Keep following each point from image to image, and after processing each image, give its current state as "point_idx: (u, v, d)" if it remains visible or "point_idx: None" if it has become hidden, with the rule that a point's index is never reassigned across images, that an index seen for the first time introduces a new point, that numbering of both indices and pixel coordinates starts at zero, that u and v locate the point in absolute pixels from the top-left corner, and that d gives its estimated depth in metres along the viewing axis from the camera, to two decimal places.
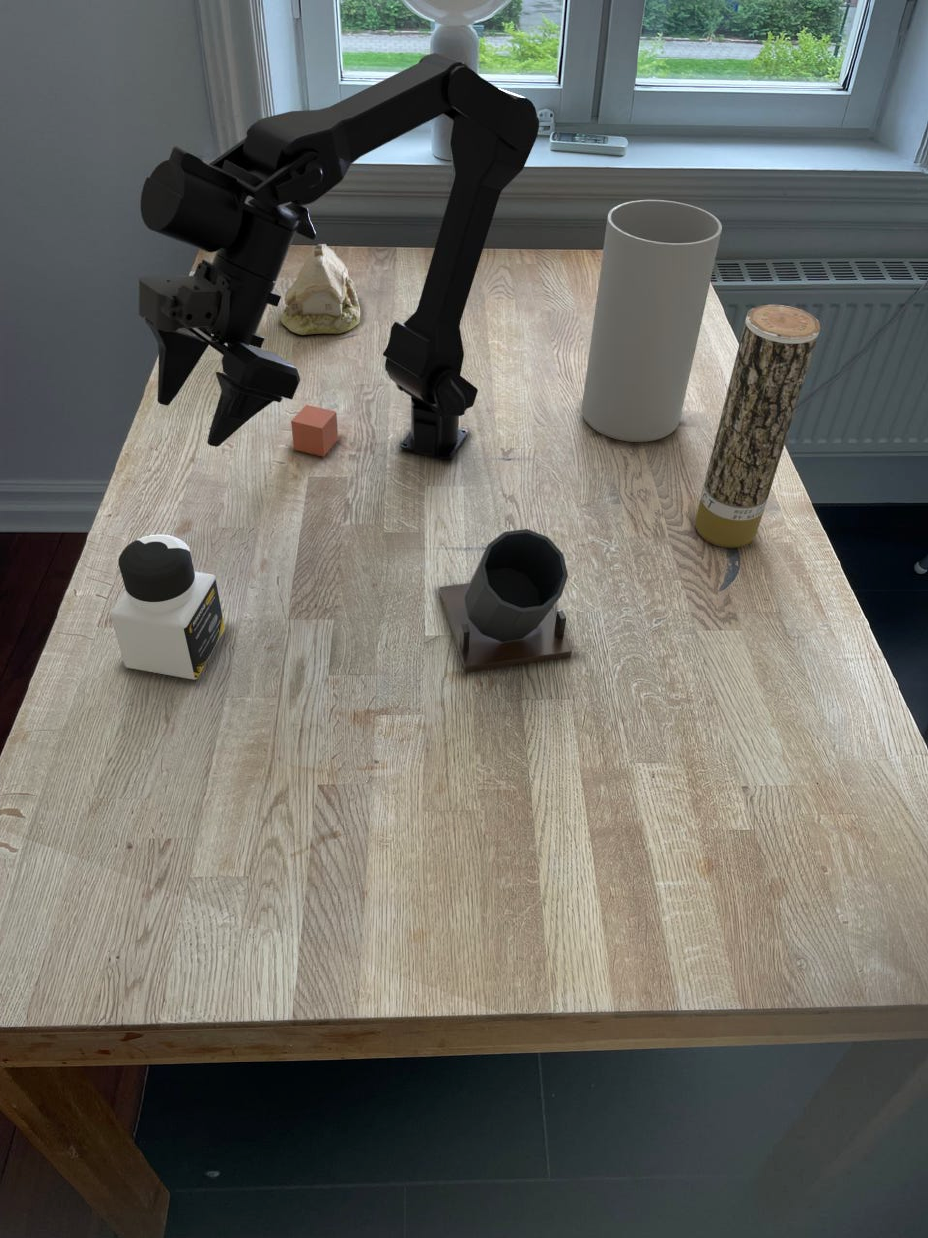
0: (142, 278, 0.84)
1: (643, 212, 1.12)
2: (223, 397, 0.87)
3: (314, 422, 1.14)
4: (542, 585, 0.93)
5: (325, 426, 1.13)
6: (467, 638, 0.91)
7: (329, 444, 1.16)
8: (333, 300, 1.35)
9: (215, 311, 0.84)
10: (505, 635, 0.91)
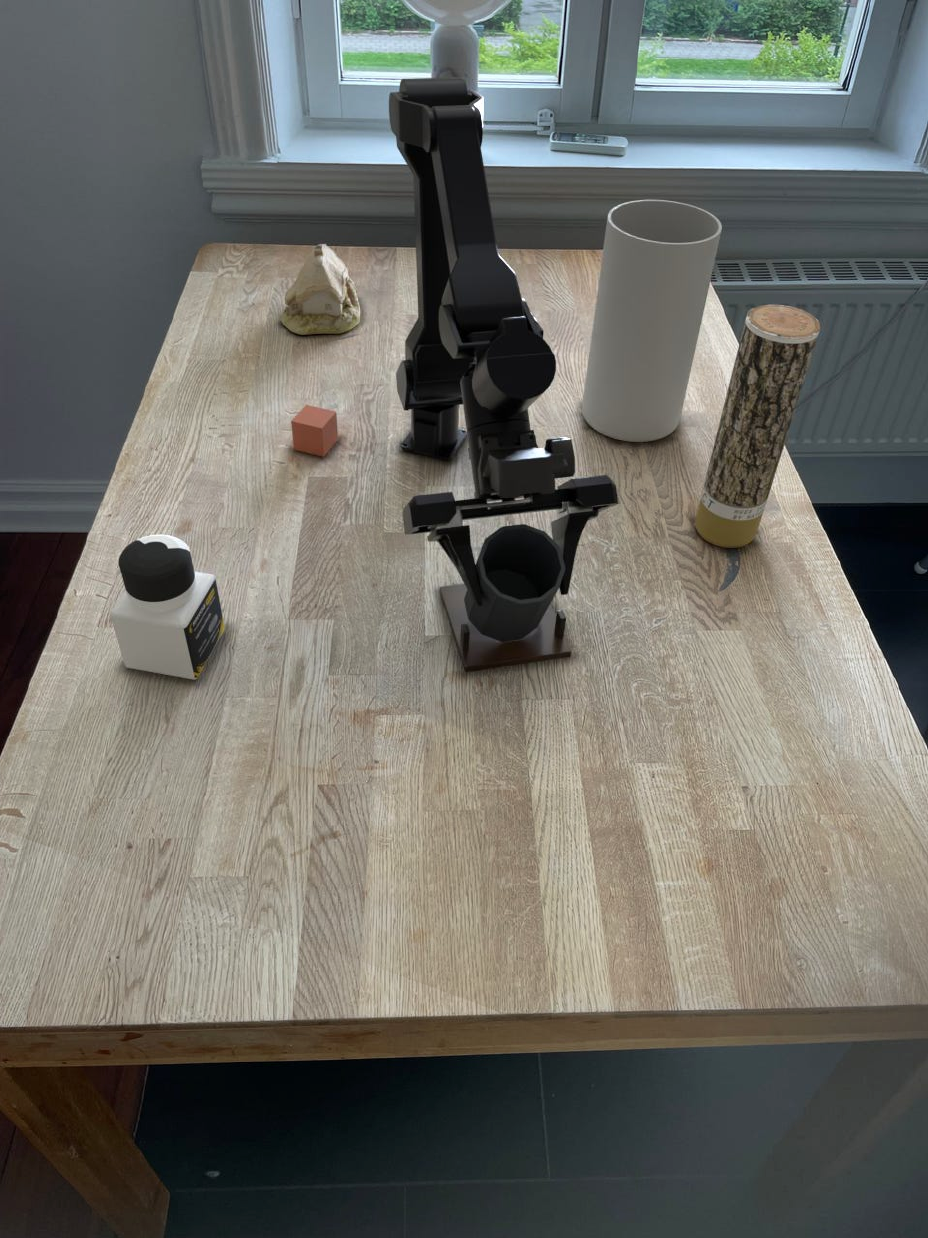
0: (505, 460, 0.79)
1: (643, 212, 1.12)
2: (570, 538, 0.87)
3: (314, 422, 1.14)
4: (541, 585, 0.93)
5: (325, 426, 1.13)
6: (467, 638, 0.91)
7: (329, 444, 1.16)
8: (333, 300, 1.35)
9: None
10: (505, 633, 0.91)
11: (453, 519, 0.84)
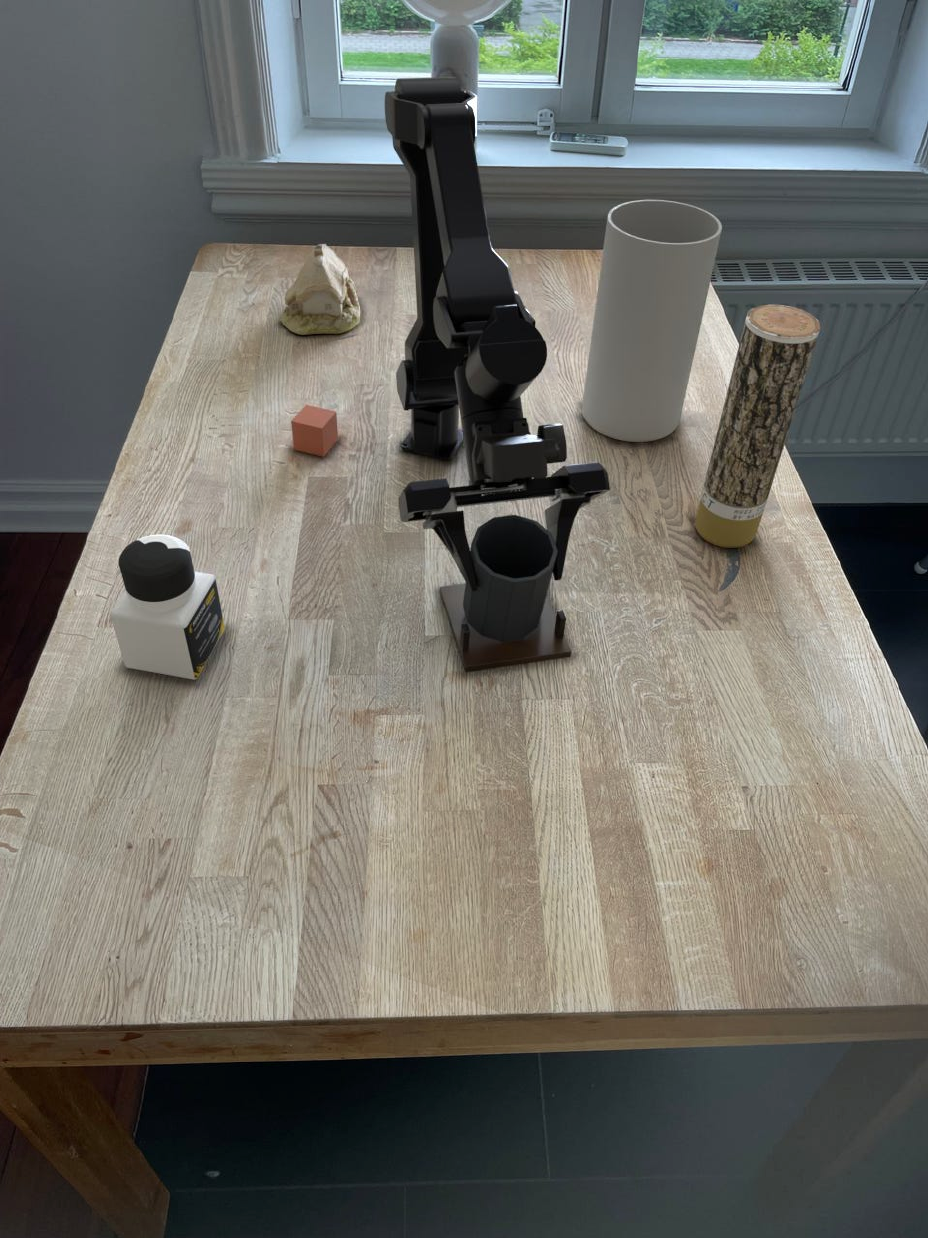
0: (498, 444, 0.81)
1: (643, 212, 1.12)
2: (563, 524, 0.88)
3: (314, 422, 1.14)
4: None
5: (325, 426, 1.13)
6: (467, 638, 0.91)
7: (329, 444, 1.16)
8: (333, 300, 1.35)
9: None
10: (503, 629, 0.91)
11: (447, 505, 0.86)
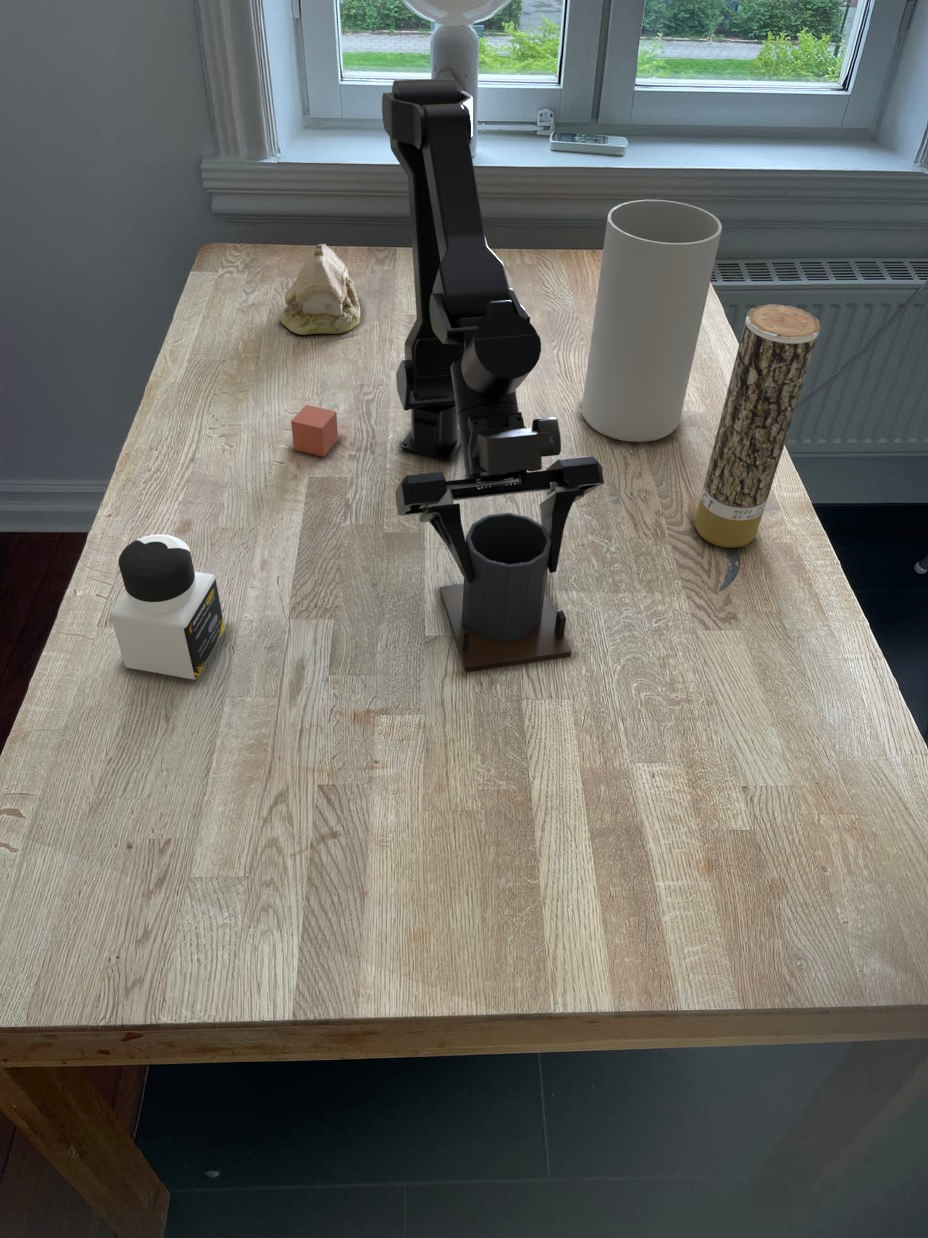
0: (493, 437, 0.82)
1: (643, 212, 1.12)
2: (558, 517, 0.89)
3: (314, 422, 1.14)
4: None
5: (325, 426, 1.13)
6: (467, 638, 0.91)
7: (329, 444, 1.16)
8: (333, 300, 1.35)
9: None
10: (502, 625, 0.91)
11: (444, 498, 0.87)
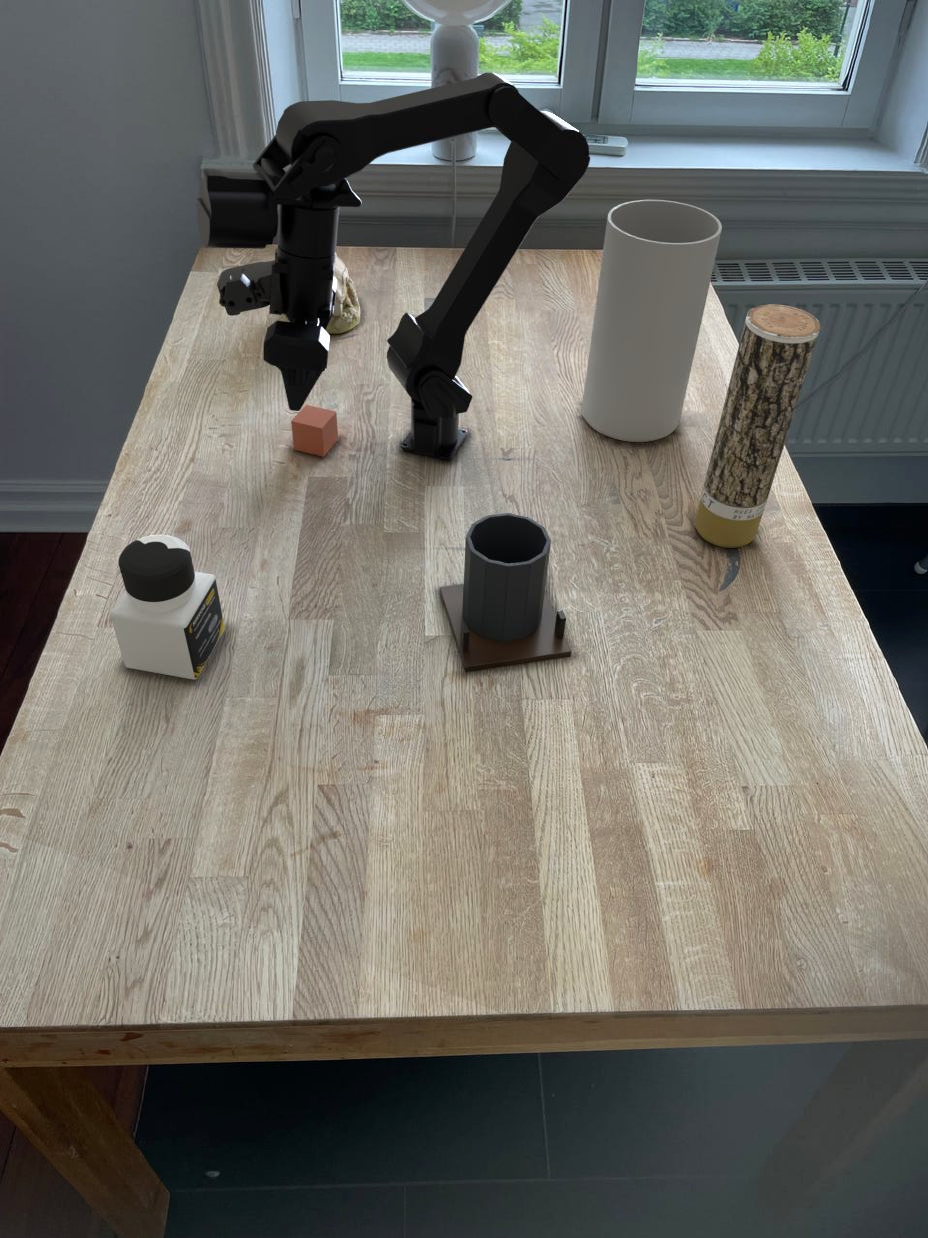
0: (225, 270, 0.99)
1: (643, 212, 1.12)
2: None
3: (314, 422, 1.14)
4: None
5: (325, 426, 1.13)
6: (467, 638, 0.91)
7: (329, 444, 1.16)
8: None
9: (262, 294, 0.96)
10: (502, 625, 0.91)
11: None
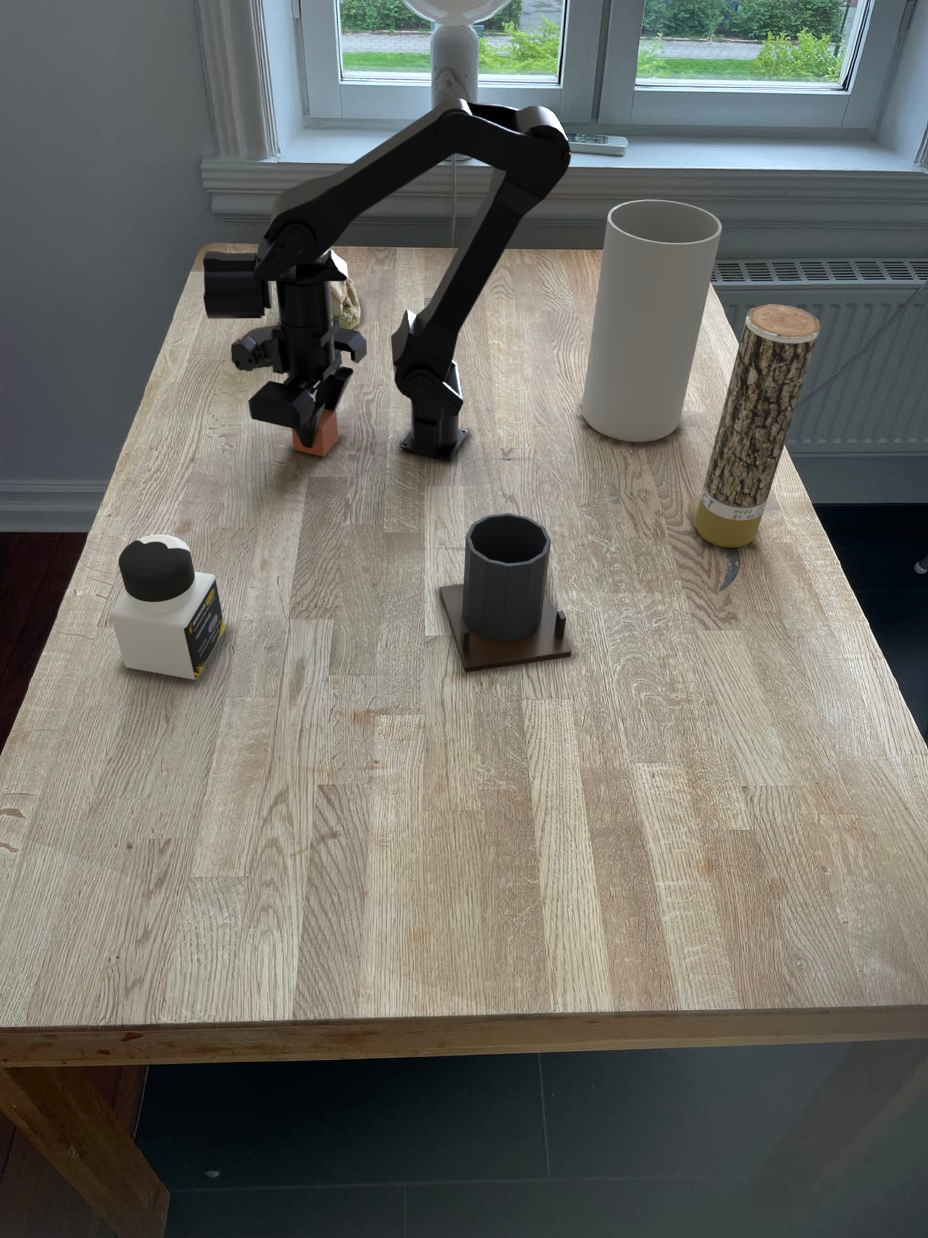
0: (252, 330, 1.12)
1: (643, 212, 1.12)
2: None
3: None
4: None
5: (325, 426, 1.13)
6: (467, 638, 0.91)
7: (329, 444, 1.16)
8: (333, 300, 1.35)
9: (263, 356, 1.07)
10: (502, 625, 0.91)
11: None
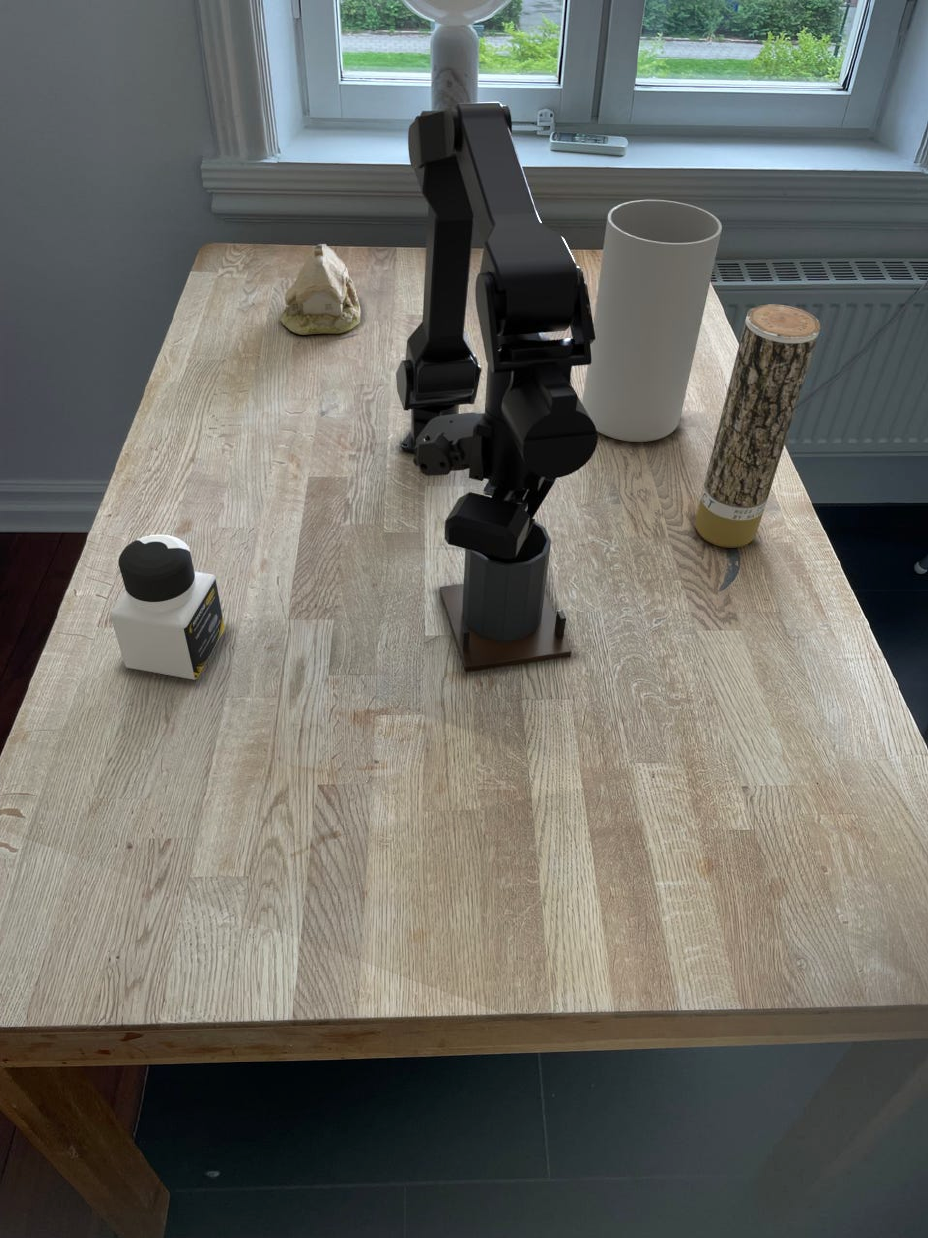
0: (434, 418, 0.86)
1: (643, 212, 1.12)
2: None
3: None
4: None
5: None
6: (467, 638, 0.91)
7: None
8: (333, 300, 1.35)
9: (459, 458, 0.81)
10: (502, 625, 0.91)
11: None
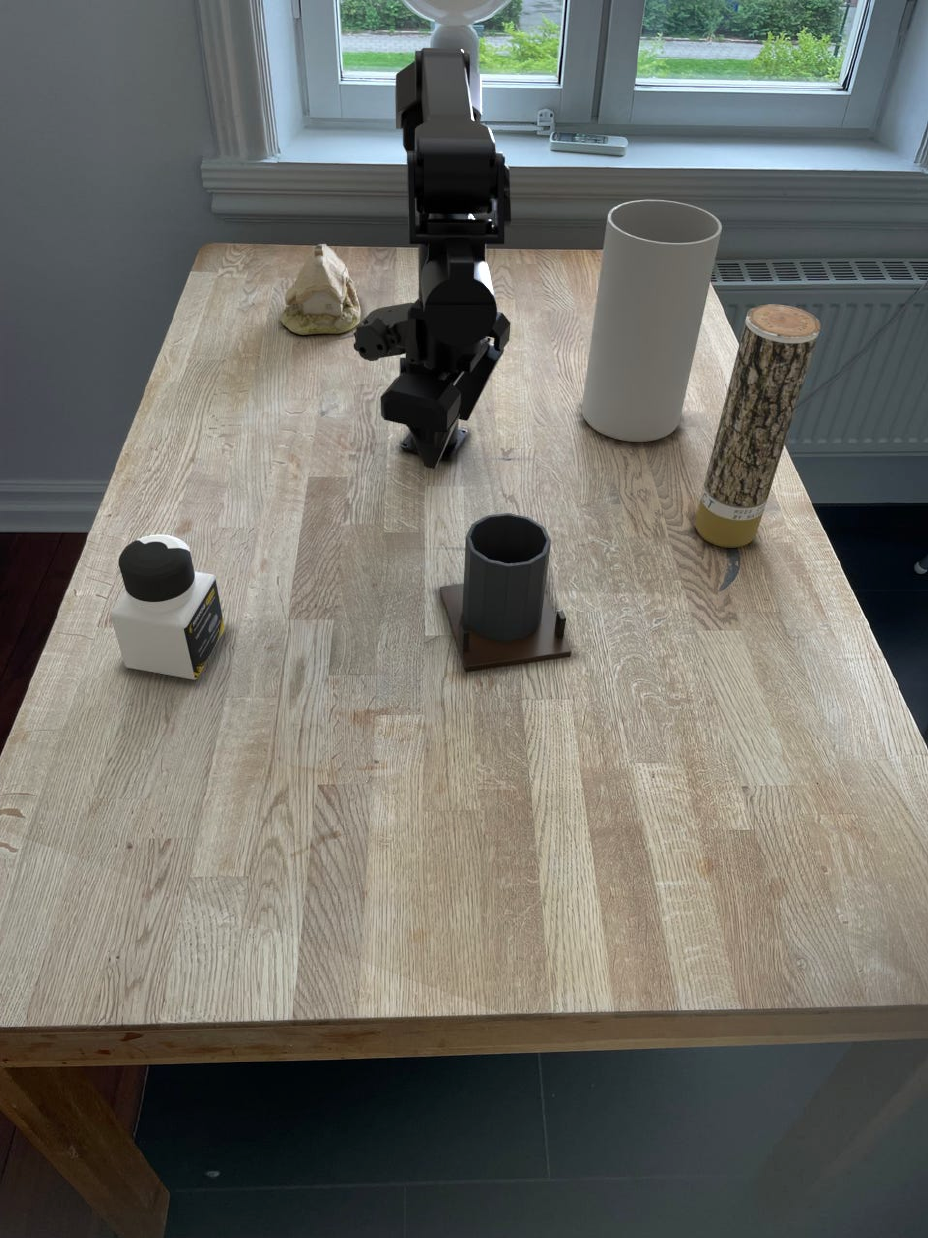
0: (375, 310, 0.91)
1: (643, 212, 1.12)
2: None
3: None
4: None
5: None
6: (467, 638, 0.91)
7: None
8: (333, 300, 1.35)
9: (395, 341, 0.86)
10: (502, 625, 0.91)
11: None
